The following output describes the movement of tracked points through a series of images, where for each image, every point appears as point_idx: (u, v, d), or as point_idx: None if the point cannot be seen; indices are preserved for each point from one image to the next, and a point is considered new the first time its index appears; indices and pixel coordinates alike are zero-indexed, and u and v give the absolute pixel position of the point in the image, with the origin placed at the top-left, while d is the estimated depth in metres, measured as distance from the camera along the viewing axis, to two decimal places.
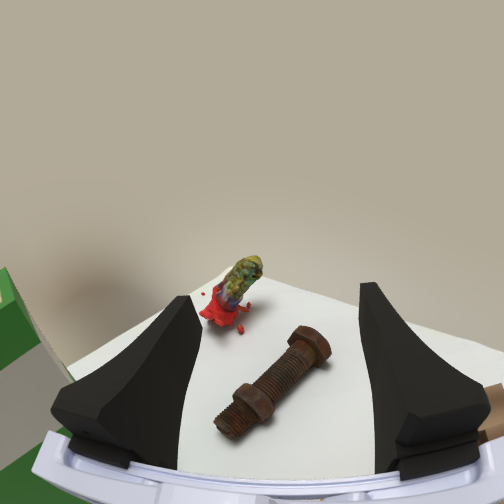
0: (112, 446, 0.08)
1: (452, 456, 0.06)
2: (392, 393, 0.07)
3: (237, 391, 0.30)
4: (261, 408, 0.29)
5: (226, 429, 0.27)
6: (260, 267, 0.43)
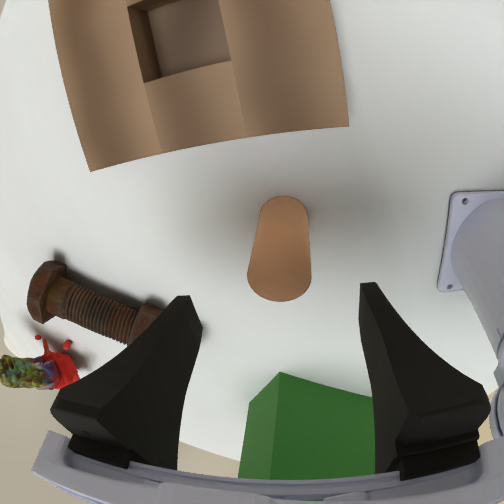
0: (112, 446, 0.08)
1: (452, 456, 0.06)
2: (392, 393, 0.07)
3: None
4: None
5: None
6: (0, 366, 0.24)
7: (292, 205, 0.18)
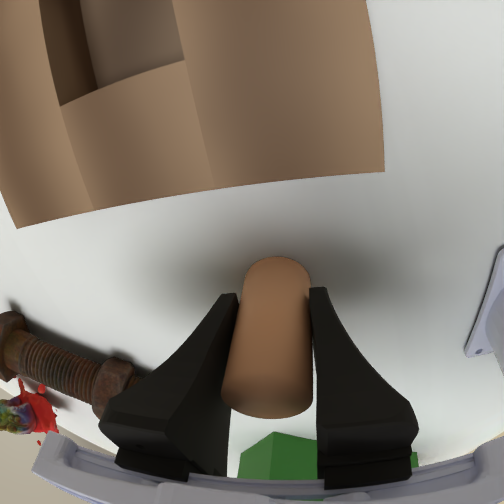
0: (169, 459, 0.07)
1: (379, 471, 0.06)
2: None
3: None
4: (111, 394, 0.17)
5: None
6: None
7: (289, 274, 0.13)
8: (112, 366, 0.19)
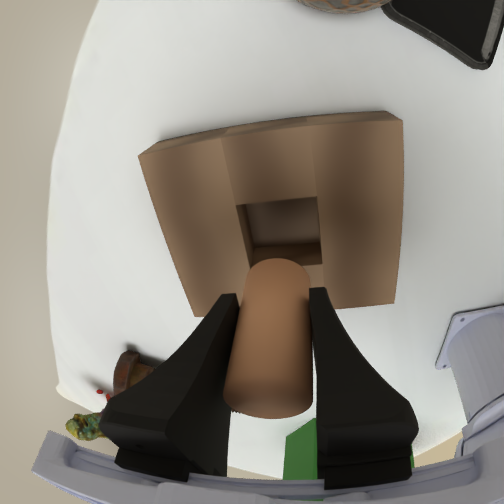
0: (169, 458, 0.07)
1: (379, 471, 0.06)
2: None
3: None
4: None
5: None
6: (76, 425, 0.30)
7: (288, 276, 0.13)
8: None
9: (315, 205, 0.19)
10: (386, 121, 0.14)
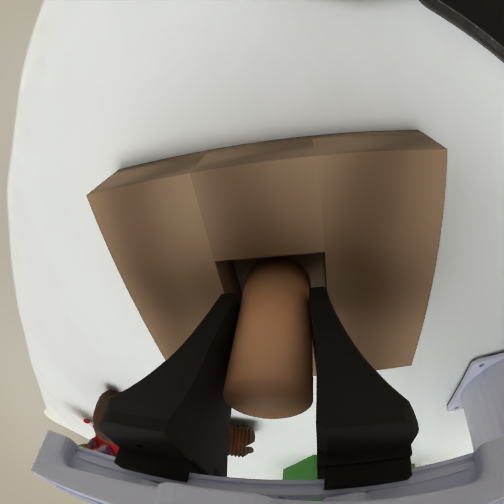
0: (169, 458, 0.07)
1: (379, 471, 0.06)
2: None
3: None
4: None
5: (250, 450, 0.24)
6: None
7: (288, 276, 0.13)
8: None
9: (321, 252, 0.15)
10: (425, 150, 0.09)
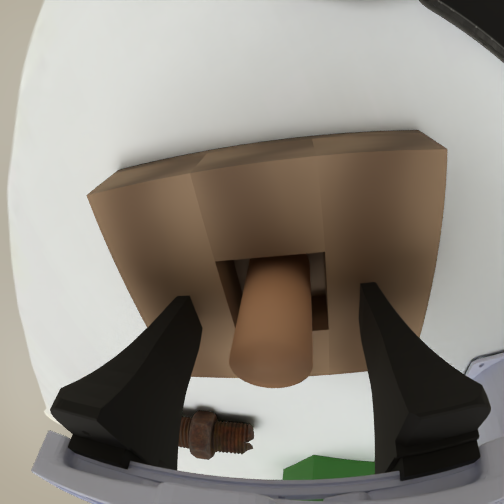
0: (112, 446, 0.08)
1: (452, 456, 0.06)
2: (392, 393, 0.07)
3: (208, 458, 0.24)
4: (203, 438, 0.24)
5: (249, 446, 0.24)
6: None
7: (289, 256, 0.14)
8: (200, 418, 0.25)
9: (321, 252, 0.15)
10: (426, 150, 0.09)
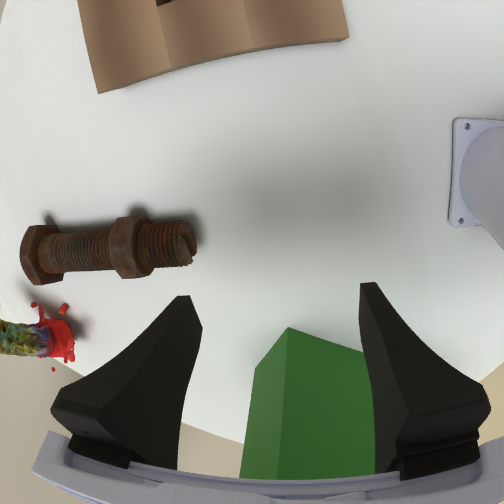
0: (112, 446, 0.08)
1: (452, 456, 0.06)
2: (392, 393, 0.07)
3: (135, 275, 0.21)
4: (124, 233, 0.20)
5: (180, 241, 0.20)
6: None
7: None
8: None
9: None
10: None
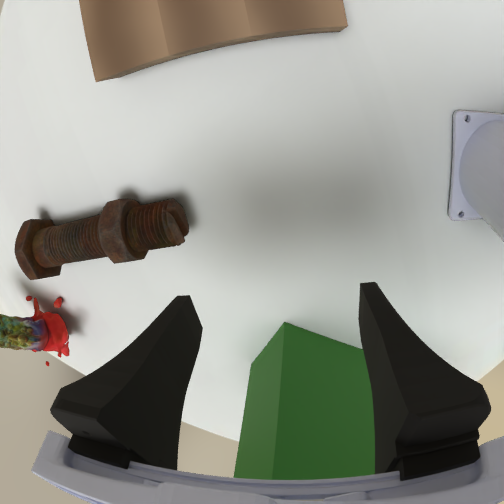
0: (112, 446, 0.08)
1: (452, 456, 0.06)
2: (392, 393, 0.07)
3: (126, 259, 0.20)
4: (113, 215, 0.20)
5: (169, 218, 0.19)
6: None
7: None
8: None
9: None
10: None
